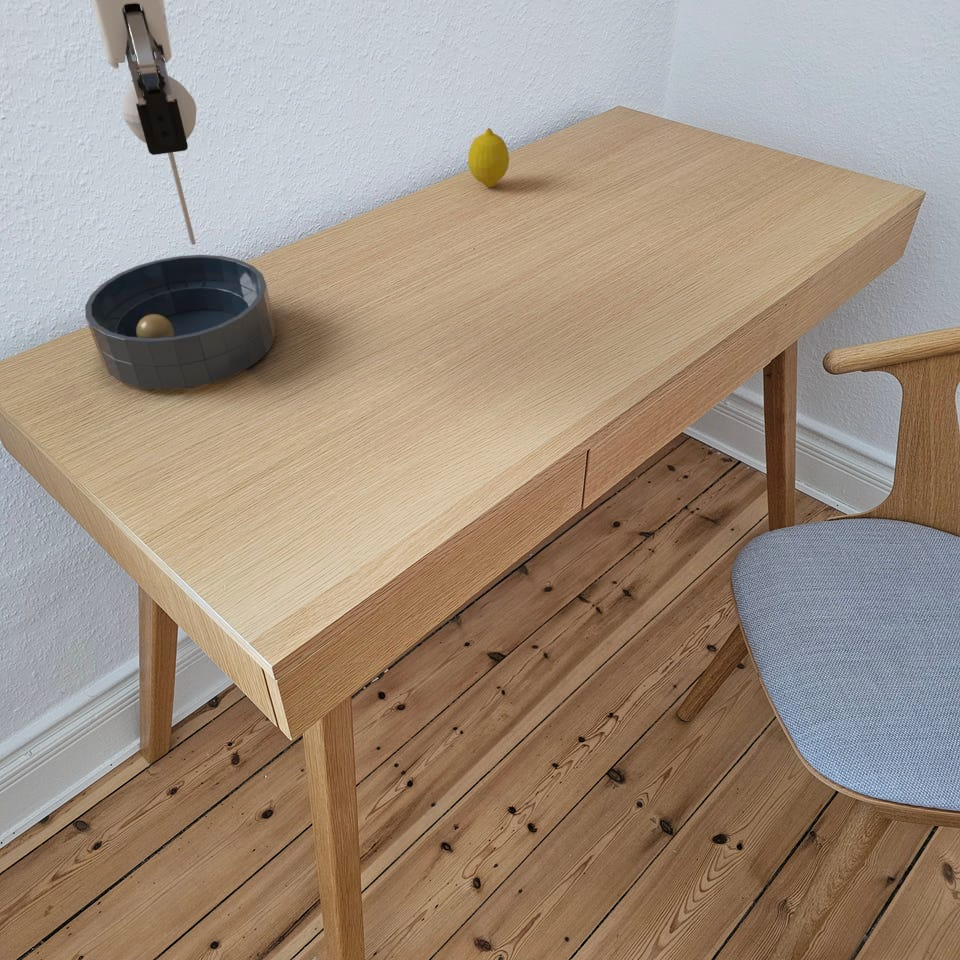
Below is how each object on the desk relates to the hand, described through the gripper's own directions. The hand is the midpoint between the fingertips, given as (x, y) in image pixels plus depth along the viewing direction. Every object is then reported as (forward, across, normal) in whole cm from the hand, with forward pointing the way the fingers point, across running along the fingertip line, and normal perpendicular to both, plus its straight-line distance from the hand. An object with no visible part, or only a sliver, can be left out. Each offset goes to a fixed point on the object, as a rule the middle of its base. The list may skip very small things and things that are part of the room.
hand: (165, 136), depth 74 cm
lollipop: (+10, 0, 0) cm, 10 cm away
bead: (+19, -1, -6) cm, 20 cm away
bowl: (+21, -1, -3) cm, 21 cm away
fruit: (+21, -28, +40) cm, 53 cm away
